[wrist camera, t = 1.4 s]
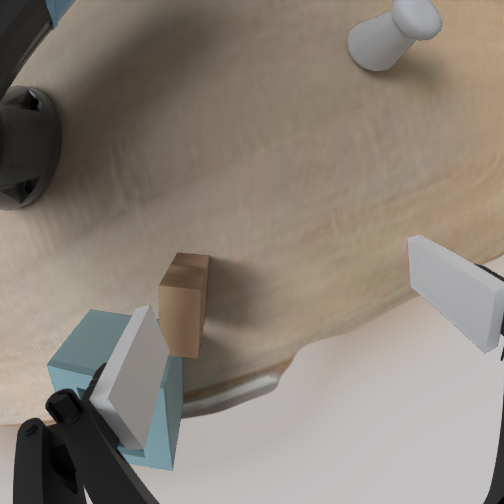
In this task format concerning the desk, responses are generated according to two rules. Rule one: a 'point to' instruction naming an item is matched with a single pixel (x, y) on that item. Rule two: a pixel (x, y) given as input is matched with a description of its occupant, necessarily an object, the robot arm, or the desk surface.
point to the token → (184, 304)
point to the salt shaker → (392, 33)
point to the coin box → (98, 352)
